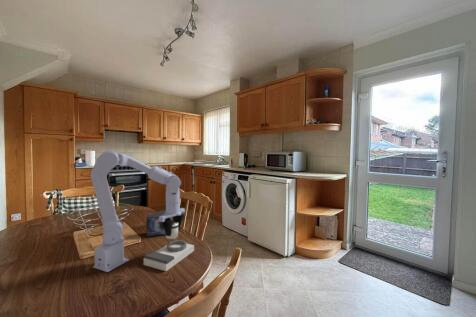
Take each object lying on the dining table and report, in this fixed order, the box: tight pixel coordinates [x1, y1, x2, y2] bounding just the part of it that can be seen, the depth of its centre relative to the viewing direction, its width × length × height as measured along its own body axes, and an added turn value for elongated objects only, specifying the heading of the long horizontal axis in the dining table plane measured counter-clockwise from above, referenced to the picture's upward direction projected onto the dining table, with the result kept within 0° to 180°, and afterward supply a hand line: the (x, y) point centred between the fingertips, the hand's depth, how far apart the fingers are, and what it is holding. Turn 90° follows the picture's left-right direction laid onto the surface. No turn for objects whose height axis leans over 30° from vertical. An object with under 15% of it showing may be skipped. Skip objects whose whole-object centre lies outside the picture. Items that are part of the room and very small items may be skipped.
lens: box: [165, 221, 179, 240], centre depth 94 cm, size 5×5×6 cm
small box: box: [145, 212, 166, 238], centre depth 114 cm, size 11×6×10 cm, turn 105°
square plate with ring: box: [143, 239, 195, 272], centre depth 89 cm, size 18×11×4 cm, turn 157°
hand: (172, 233), depth 93 cm, fingers closed on lens, 5 cm apart
